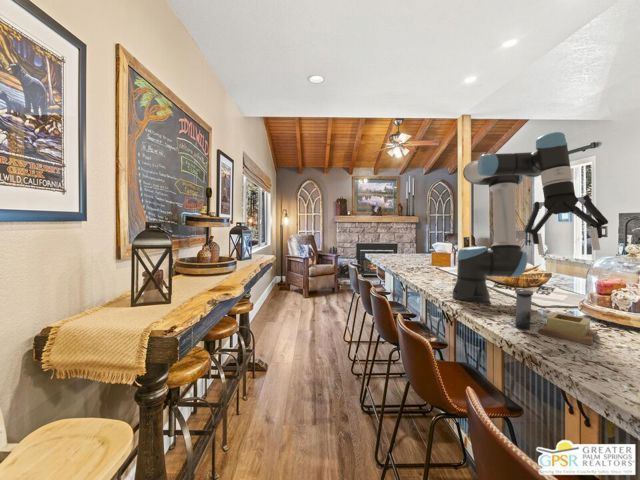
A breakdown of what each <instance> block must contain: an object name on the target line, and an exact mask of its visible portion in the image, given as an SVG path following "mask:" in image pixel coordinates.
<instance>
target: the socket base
mask: <svg viewBox="0 0 640 480" xmlns="http://www.w3.org/2000/svg"><path fill="white" fill-rule="evenodd" d="M546 324H547V322H545V323H543V324H542V326H541V327H539V328H538V334H539V335H542V336H548V337H551V338H557V339H561V340H566V341H570V342H573V343H574V342H575V343H579V344H584V345H586V346H587V345H588V346H592V344H593V343H594V341H595V339H596V337H597V335H598V330H597V329H592V328H590V330H589V332H588V333H587V335H586V336H585V337H582V336H577V335H572V334H567V333H563V332H558V331H553V330H548V329H546Z"/></svg>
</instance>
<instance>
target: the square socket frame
mask: <svg viewBox="0 0 640 480" xmlns="http://www.w3.org/2000/svg"><path fill="white" fill-rule="evenodd" d="M546 323H547V324H546V329H548V330H553V331H558V332H563V333H567V334H572V335H577V336H582V337H585V336H586V335H587V333H588V332H589V330H590V329H591V318H590V317H589V318H588V317H582V316H578V315H571V314H565V313H559V312H553V311H552V313H551V314H549V315H548V316H547V317H546Z"/></svg>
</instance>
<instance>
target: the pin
mask: <svg viewBox="0 0 640 480" xmlns="http://www.w3.org/2000/svg"><path fill="white" fill-rule="evenodd" d="M514 292H515V294H516V297H515V298H516V299H515V300H516V302H515V304H516V305H515V325H514V326H515V328H516V329H519V330H531V319H532V318H531V317H532V296H534V291H533V290H531V289H525V288H516V289H515V291H514Z"/></svg>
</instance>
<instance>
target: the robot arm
mask: <svg viewBox="0 0 640 480" xmlns="http://www.w3.org/2000/svg"><path fill="white" fill-rule="evenodd" d="M569 155H570V154H569V150H568V142H567V139H566V135H565V133H563V132H560V131H559V132H557V131H556V132H549V133H547V134H544V135H541V136H539V137H538V138H537V139H536V140H535V151H533V152H510V153H506V152H505V153H486V154H481V155H480V156H479V157H478V158H479V159H478V160H472V161H470V162H468V163H467V164H466V165H465V166H464V167H463V171H462V174H463V178H464V180H466V181H467V182H468V183H470V184H473V185H478V186H488V190H489V191H490V192H491V193H492V208H493V209H492V214H493V215H492V216H493V218H492V219H493V243H492V244H491V245H490V247H489V248H490V249H488V247H487V246H483V245H481V246H467V247H462V248H459V250H458V253H457V269H456V270H457V275H456V282H455V285H454V286H453V290H452V295H451V296H452V298H453V299H456V300H460V301H464V302H471V303H485V302H486V303H487V302H490V297H491V296H490V293H489V289H488V286H487V282H486V281H487V280H486V279H487V278H486V277H503V278H519V277H521V276H523V274H524V273H525V272H526V268H527V265H528V255H527V252H526V251H525V250H523V249H522V246H521V245H520V244H519V243H518V242H517V221H516V217H517V216H516V200H515V199H516V198H515V191H516V190H517V189H518V188H519V185H520V184H521V183H522V182H523V180H524V176H525V177H527V178H533V179H534V178H537V177H539V176H540V180H541V185H542V186H543V187H542V193H543V198H544V200H543V201H541V202H539V201H535V202H534V203H532V211H531V214H530V216H529V219H528V221H527V224H526V226H525V229H524V233H526V234H529V235H531V236H532V243H533V245H537V250H538V255H542V256H543V255H545V251H544V244H543V237H542V233H541V232H540V233H539V231H540V230H541V229H542V227H544V225H545V224H546V222H547V221H548V220H549V218H550V217H551V216H552V215H559V214H568V213H572V214H573V215H575V216H576V217H578V218H579V219H581V220H582V221H584V222H585V223H587V224H588V225H589V226H591V228H589V234H590V240H591V246H592V251H600V250H601V247H600V241H599V239H602V237H603V235H602V234H603V233H602V226H605V225H607V224H609V220H608V219H607V218H606V217H605V216H604V215H603V214H602V212H601V211H600V210H599V209H598V208H597V207H596V206H595V204H594V203H593V202H592V200H591V198H590V196H589V195H588V194H585V195H582V196H579V197H577V196H576V192H575V185H574V182H573V181H572V180H573V174H572V169H571V162H570V156H569ZM578 202H579V203H580V204H582V205H583V207H584V208H585V209H586V210H587V212H588V213H590V215H591V216H592V217H591V216H590V215H589V214H587V213H586V212H584V211H583V209H581V208H579V207H578V206H577V204H578ZM542 207H544V208H546V209H547V211H545V212H544V214H543V216H542V217H541V219H540V220H539V221H538V222H537V224H536V225H535V226H534V224H535V221H536V219H537V217H538V214H539V212H540V209H542ZM533 227H534V228H533Z"/></svg>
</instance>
